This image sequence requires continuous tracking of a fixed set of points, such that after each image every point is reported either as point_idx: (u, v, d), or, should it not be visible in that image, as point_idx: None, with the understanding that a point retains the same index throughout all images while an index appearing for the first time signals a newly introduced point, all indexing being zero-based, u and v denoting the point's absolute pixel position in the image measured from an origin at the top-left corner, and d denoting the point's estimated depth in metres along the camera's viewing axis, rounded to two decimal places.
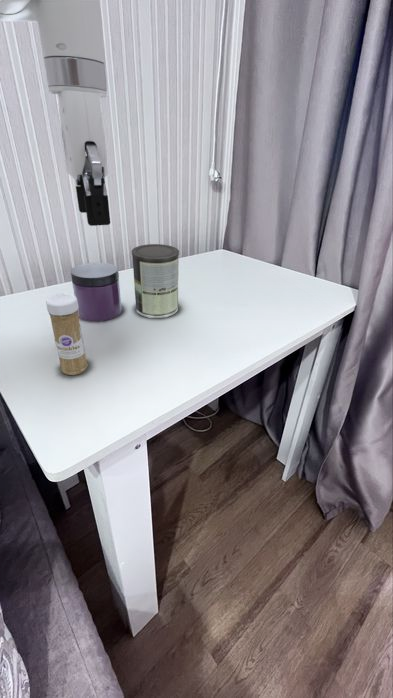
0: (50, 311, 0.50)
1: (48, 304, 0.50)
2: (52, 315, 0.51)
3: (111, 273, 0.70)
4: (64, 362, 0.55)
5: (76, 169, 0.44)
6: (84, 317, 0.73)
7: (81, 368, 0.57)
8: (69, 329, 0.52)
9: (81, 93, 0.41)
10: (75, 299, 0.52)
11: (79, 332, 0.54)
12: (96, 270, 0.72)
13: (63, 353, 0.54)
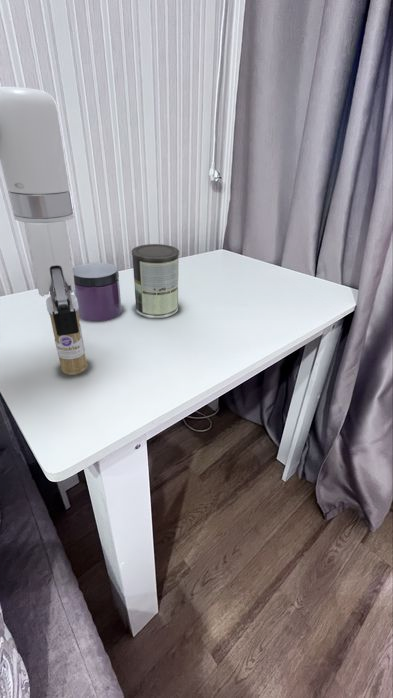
0: (50, 311, 0.50)
1: (48, 304, 0.50)
2: (52, 315, 0.51)
3: (111, 273, 0.70)
4: (64, 362, 0.55)
5: (42, 290, 0.45)
6: (84, 317, 0.73)
7: (81, 368, 0.57)
8: None
9: (44, 225, 0.41)
10: (75, 299, 0.52)
11: (79, 332, 0.54)
12: (96, 270, 0.72)
13: (63, 353, 0.54)
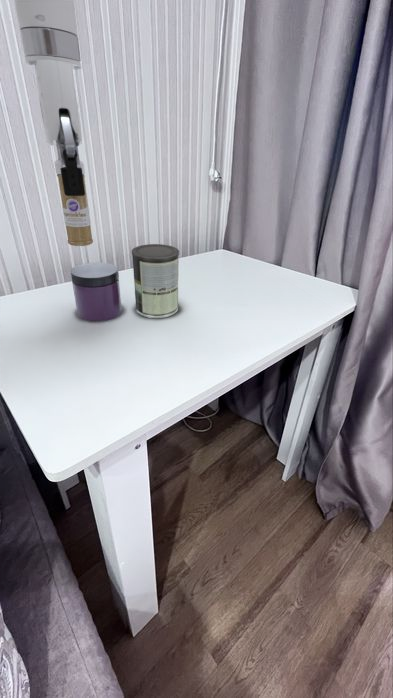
0: (58, 170, 0.53)
1: (56, 163, 0.53)
2: (60, 175, 0.54)
3: (111, 273, 0.70)
4: (71, 230, 0.58)
5: (51, 135, 0.48)
6: (84, 317, 0.73)
7: (87, 240, 0.60)
8: None
9: (54, 62, 0.44)
10: (82, 162, 0.54)
11: (85, 199, 0.57)
12: (96, 270, 0.72)
13: (70, 220, 0.57)
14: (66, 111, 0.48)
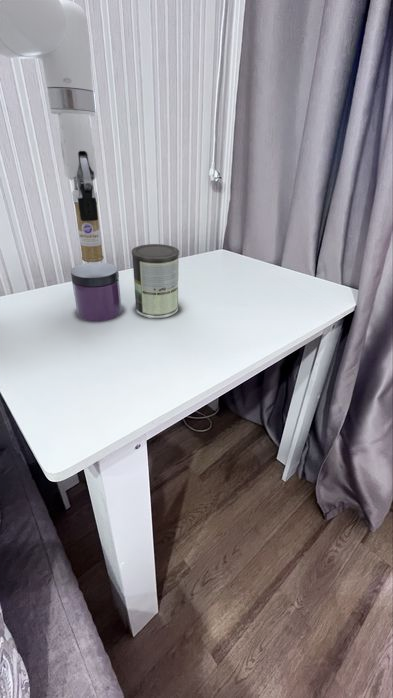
0: (76, 199, 0.63)
1: (74, 193, 0.62)
2: (77, 203, 0.63)
3: (111, 273, 0.70)
4: (85, 249, 0.68)
5: (72, 172, 0.57)
6: (84, 317, 0.73)
7: (99, 257, 0.69)
8: None
9: (75, 114, 0.54)
10: (95, 192, 0.64)
11: (98, 223, 0.66)
12: (96, 270, 0.72)
13: (85, 241, 0.67)
14: (84, 153, 0.57)
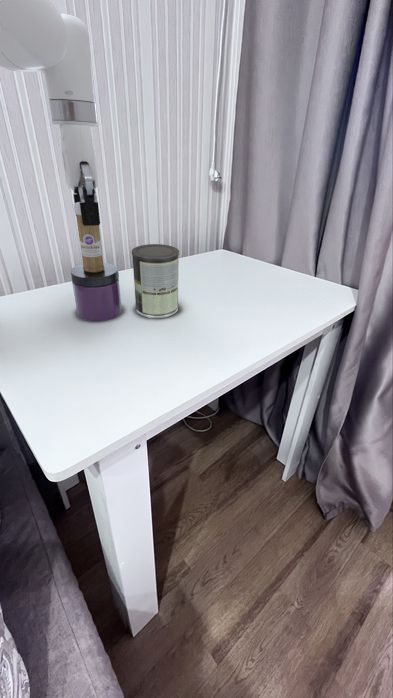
0: (77, 212, 0.64)
1: (76, 206, 0.63)
2: (78, 216, 0.64)
3: (111, 273, 0.70)
4: (86, 260, 0.69)
5: (73, 182, 0.58)
6: (84, 317, 0.73)
7: (100, 267, 0.70)
8: (91, 229, 0.66)
9: (77, 126, 0.54)
10: None
11: (99, 234, 0.67)
12: None
13: (86, 252, 0.68)
14: (85, 160, 0.57)
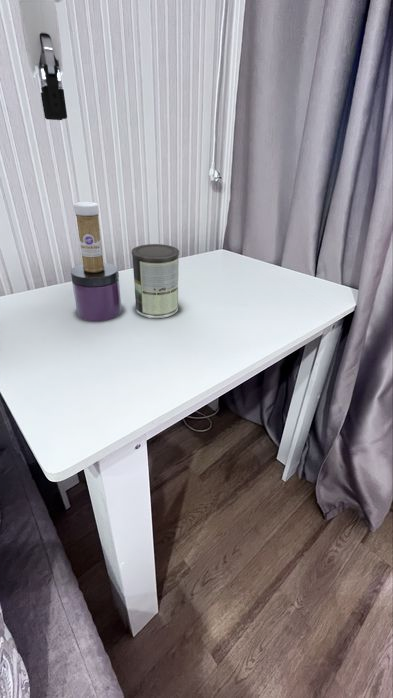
0: (77, 212, 0.64)
1: (76, 206, 0.63)
2: (78, 216, 0.64)
3: (111, 273, 0.70)
4: (86, 260, 0.69)
5: (33, 60, 0.51)
6: (84, 317, 0.73)
7: (100, 267, 0.70)
8: (91, 229, 0.66)
9: None
10: (96, 204, 0.65)
11: (99, 234, 0.67)
12: None
13: (86, 252, 0.68)
14: (47, 34, 0.50)
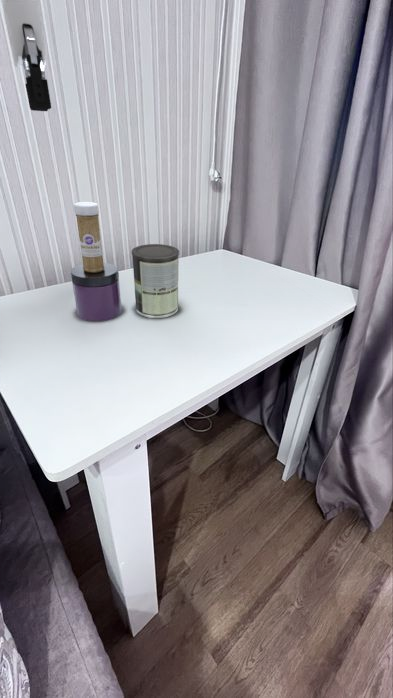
0: (77, 212, 0.64)
1: (76, 206, 0.63)
2: (78, 216, 0.64)
3: (111, 273, 0.70)
4: (86, 260, 0.69)
5: (16, 50, 0.52)
6: (84, 317, 0.73)
7: (100, 267, 0.70)
8: (91, 229, 0.66)
9: None
10: (96, 204, 0.65)
11: (99, 234, 0.67)
12: None
13: (86, 252, 0.68)
14: (29, 25, 0.51)
